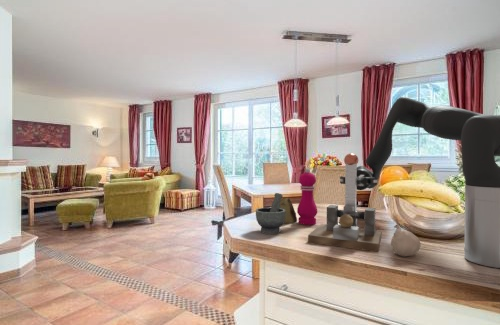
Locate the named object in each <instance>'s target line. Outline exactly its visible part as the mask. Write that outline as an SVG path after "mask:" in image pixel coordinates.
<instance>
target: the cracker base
mask: <svg viewBox="0 0 500 325" xmlns="http://www.w3.org/2000/svg"><path fill="white" fill-rule="evenodd" d="M337 210H339V205H337V204H329V205H328V206H327V207H326V224H325V223H320V225H318V226H317V227H316V228H315V229H313V230H312V231H311V232H309V233H308V235H307V242H308V243H310V244H311V243H312V244H319V245H326V246H333V247H340V248H341V247H342V248H348V249H354V250H355V249H356V250H361V251H369V252H370V251H371V252H379V250H380V245H381V240H382V229H376V207H365V210H364V212H365V219H364V227H359V226H357V227H355V226H352V225H353V218H352V217H351V216H350V215H347V214H345V215H342V216H341V217H337Z"/></svg>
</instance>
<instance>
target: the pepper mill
mask: <svg viewBox="0 0 500 325" xmlns="http://www.w3.org/2000/svg"><path fill="white" fill-rule="evenodd" d="M316 181H317V178H316V176H315V175H314V173H313V172H311V169H310V168H305V170H304V172H303V173H302V174H300V176H299V179H298V182H299V184H300V190H301V197H300V201H299V203H298V205H297V211H296V212H297V213H296V214H298V216H299V217H298V224H300V225H305V226H308V225H309V226H312V225H316V224H317V218H316V216H317V214H318V207H317V204H316V203H315V202H316V201H315V200H314V199H315V198H314V191H315V186H314V185H315V184H316Z"/></svg>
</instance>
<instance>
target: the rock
mask: <svg viewBox="0 0 500 325" xmlns="http://www.w3.org/2000/svg"><path fill="white" fill-rule="evenodd" d="M279 208H280V209H285V220H284V222H283V224H294V223H298V216H297V213H296V212H297V211H295V208H294V205H293V203H292V201H291V199H290V197H282V199H281V202H280V207H279Z"/></svg>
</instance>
